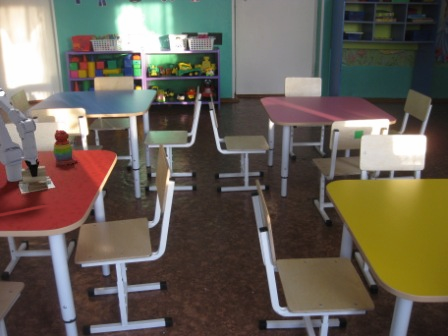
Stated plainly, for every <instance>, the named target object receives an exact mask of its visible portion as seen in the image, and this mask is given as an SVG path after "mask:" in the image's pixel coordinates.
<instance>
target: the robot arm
mask: <svg viewBox="0 0 448 336" xmlns="http://www.w3.org/2000/svg"><path fill="white" fill-rule="evenodd" d="M0 109H1V110H3V111H4V112H5V113H6V114H7V118H8V119H9V120H10V122H12V124H13V125H14V126H16V128H15V129H16V132H17V133H18V137H19V138H20V140H21V146H20V144H19V143H18V142H14V141H13V139H12V136H11V135H10V133H9V131H8V128H7V126H6V124H5V121H4V119H3V117H2V115H1V114H0V163H1V165H3V166H4V167H5V173H6V178H7V179H6V180H7V181H8V182H11V183H12V182H21V181H23V180H22V174H21V169H24V168H23V162H25V165H26V166H27V168H29V170H30V173H31V175H32V177H37V173H38V167H39V165H40V161H38V160H39V154H38V149H37V142H36V137H35V131H36V130H37V124H36V122H35V120H34V119H32V118H29V117H26V116H25V115H24V113H23V112H22V111H20V109H18V108H14V107H13V105H12V104H11V103H10V101H9V100H8V99H7V96H6V92H5V91H4V90H3V88H1V87H0ZM21 147H22V148H21Z"/></svg>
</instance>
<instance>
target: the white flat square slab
mask: <svg viewBox="0 0 448 336" xmlns="http://www.w3.org/2000/svg"><path fill="white" fill-rule="evenodd" d="M45 181H46V183H47V185H48V188H47V189H46V190H49V189H54V188H56V186H55V185H54V182H53V181H52V179H51V178H50V176H47V180H45ZM18 183H19V184H18V188H19V189H20V190H19V191H20V192H21V194H22V195H23V194H26V193H27V194H28V193H31V192H32V193H34V192H39V191H40V190H36V191H31V192H29V191H28V186H29V185H28V183H27V184H23V180H20V181H18ZM41 191H45V189H42V190H41Z"/></svg>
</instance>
